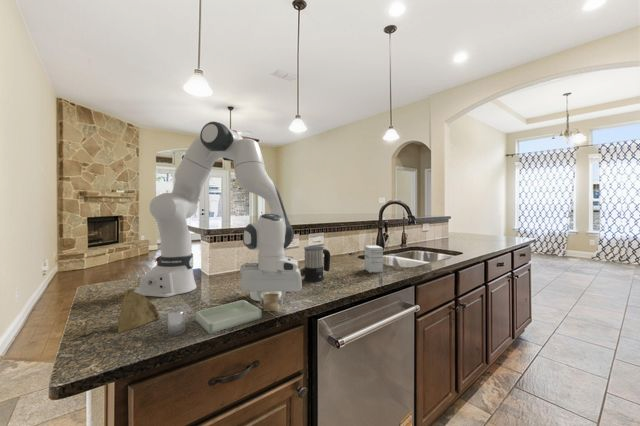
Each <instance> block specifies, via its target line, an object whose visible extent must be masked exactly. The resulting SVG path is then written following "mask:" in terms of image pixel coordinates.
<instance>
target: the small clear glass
mask: <svg viewBox="0 0 640 426" xmlns="http://www.w3.org/2000/svg"><path fill="white" fill-rule="evenodd" d="M166 320H167V335H169V336H178V335H181V334H183V333H185V332H186V310H185V309H183V308H181V309H180V308H178V309H172V310H170V311H168V312H167V319H166Z"/></svg>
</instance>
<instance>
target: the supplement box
mask: <svg viewBox="0 0 640 426" xmlns="http://www.w3.org/2000/svg"><path fill="white" fill-rule="evenodd" d="M383 256H384V248H383V247H382V246H381V245H380V246H379V245H364V270H365V271H367V272H368V273H372V272H373V273H383V271H384V270H383V269H384V268H383V265H384V261H383V260H384V259H383V258H384V257H383ZM373 273H372V274H373Z"/></svg>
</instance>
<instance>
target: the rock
mask: <svg viewBox="0 0 640 426" xmlns="http://www.w3.org/2000/svg"><path fill="white" fill-rule="evenodd" d="M133 291H134V290H132V291H125V293H124V295H123V298H122V304H121V309H120V313H119V317H118V324H117V333H119V334H120V333H122V332H124V331H125V332H126V331H128V330H132V329H136V328H139V327H141V326H143V325H144V326H145V325H146V324H149V323H151V322H153V321H156V320H159V319H160V318H161V316H160V313H159V311H158V309H157V307H156V306H155V304H154V303H152V302H151V301H150V300H149V299H148V298H147V296H144V295H141V294H139V293H137V292H133Z"/></svg>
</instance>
